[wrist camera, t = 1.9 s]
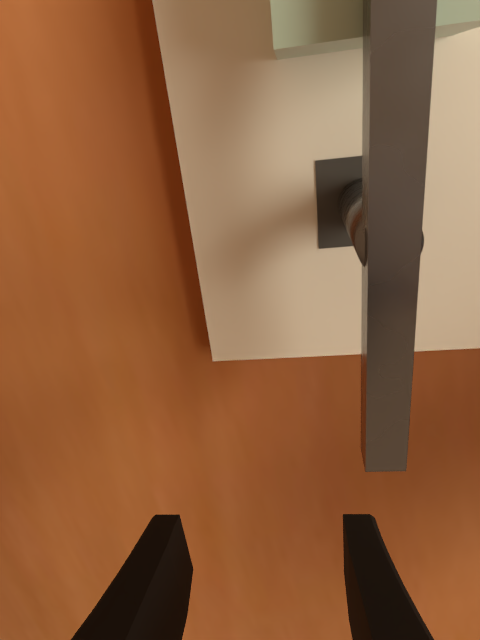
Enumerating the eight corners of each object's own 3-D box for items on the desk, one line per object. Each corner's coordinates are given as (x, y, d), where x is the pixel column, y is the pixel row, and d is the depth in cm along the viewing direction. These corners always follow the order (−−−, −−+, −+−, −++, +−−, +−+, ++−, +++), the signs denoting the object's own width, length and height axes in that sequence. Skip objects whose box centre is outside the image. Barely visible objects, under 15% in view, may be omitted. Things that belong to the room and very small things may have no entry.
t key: (393, -20, 12) (454, -83, 8) (381, 375, 18) (412, 471, 14) (333, -11, 13) (360, -67, 8) (341, 377, 18) (358, 471, 14)
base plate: (966, -463, 9) (1043, -525, 8) (680, 324, 17) (703, 338, 16) (118, -254, 12) (104, -284, 11) (216, 348, 20) (212, 362, 19)
